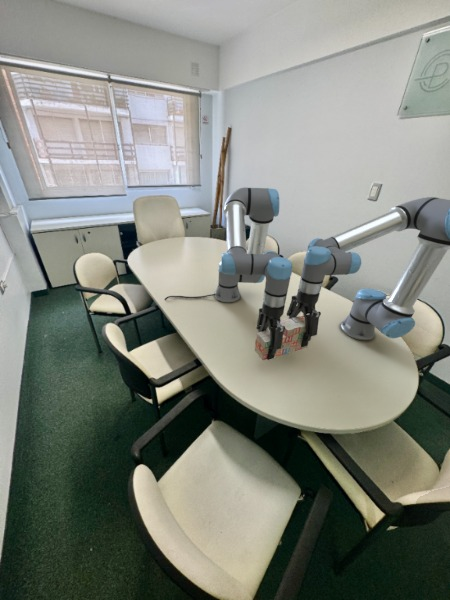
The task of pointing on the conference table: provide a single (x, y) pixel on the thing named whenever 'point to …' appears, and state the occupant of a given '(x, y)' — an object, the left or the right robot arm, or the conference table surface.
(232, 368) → the conference table surface
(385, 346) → the conference table surface
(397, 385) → the conference table surface
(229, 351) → the conference table surface
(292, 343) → the stack of blocks
